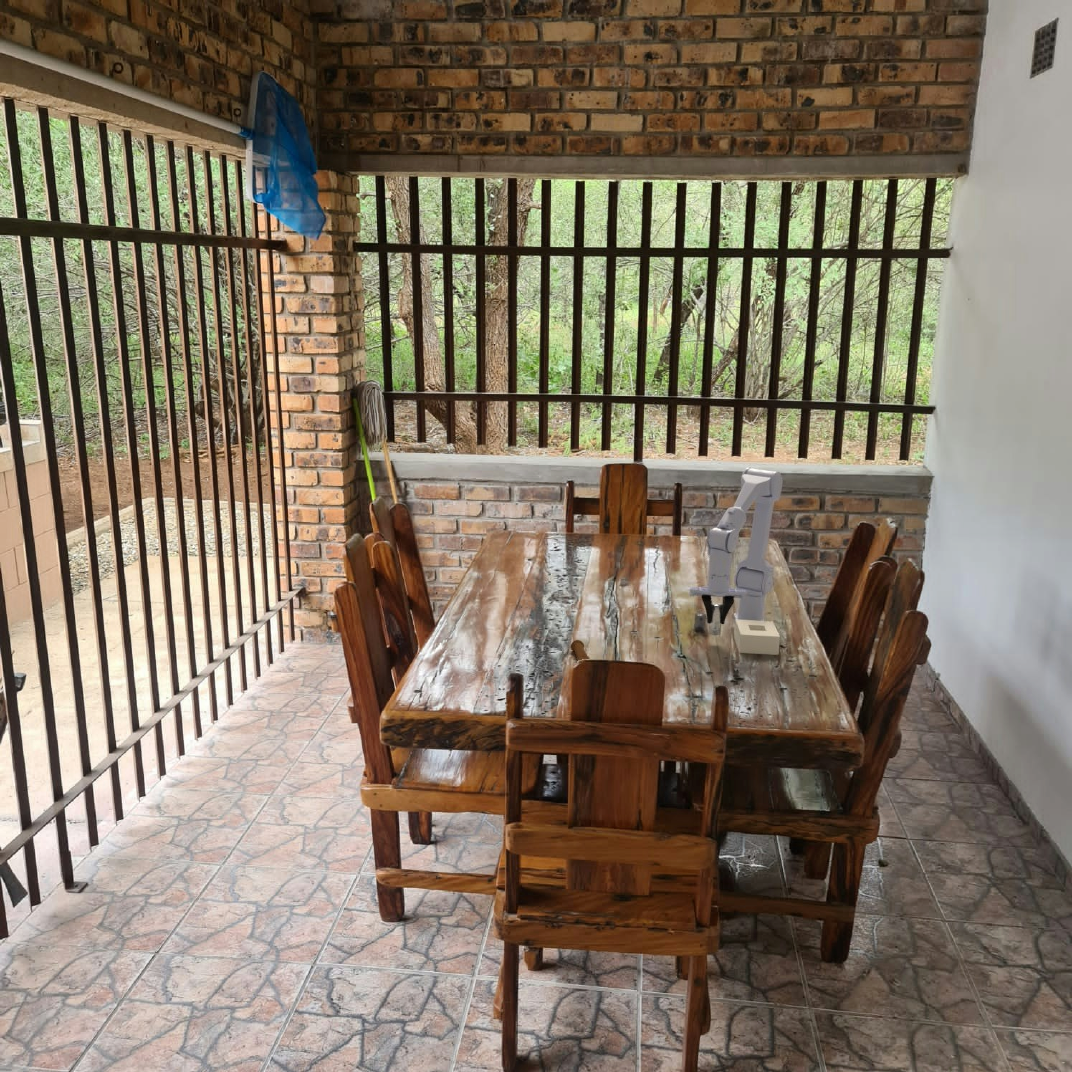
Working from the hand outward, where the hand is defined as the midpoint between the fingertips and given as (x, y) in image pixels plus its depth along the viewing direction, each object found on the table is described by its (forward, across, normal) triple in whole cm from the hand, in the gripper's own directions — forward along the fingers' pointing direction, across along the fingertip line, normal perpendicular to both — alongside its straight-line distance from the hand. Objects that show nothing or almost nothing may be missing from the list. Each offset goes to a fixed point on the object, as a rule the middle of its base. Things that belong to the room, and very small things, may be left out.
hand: (715, 622), depth 254 cm
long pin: (+3, 0, 0) cm, 3 cm away
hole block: (+6, +11, 0) cm, 12 cm away
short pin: (+6, -3, +10) cm, 12 cm away
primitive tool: (+6, -34, -20) cm, 40 cm away
